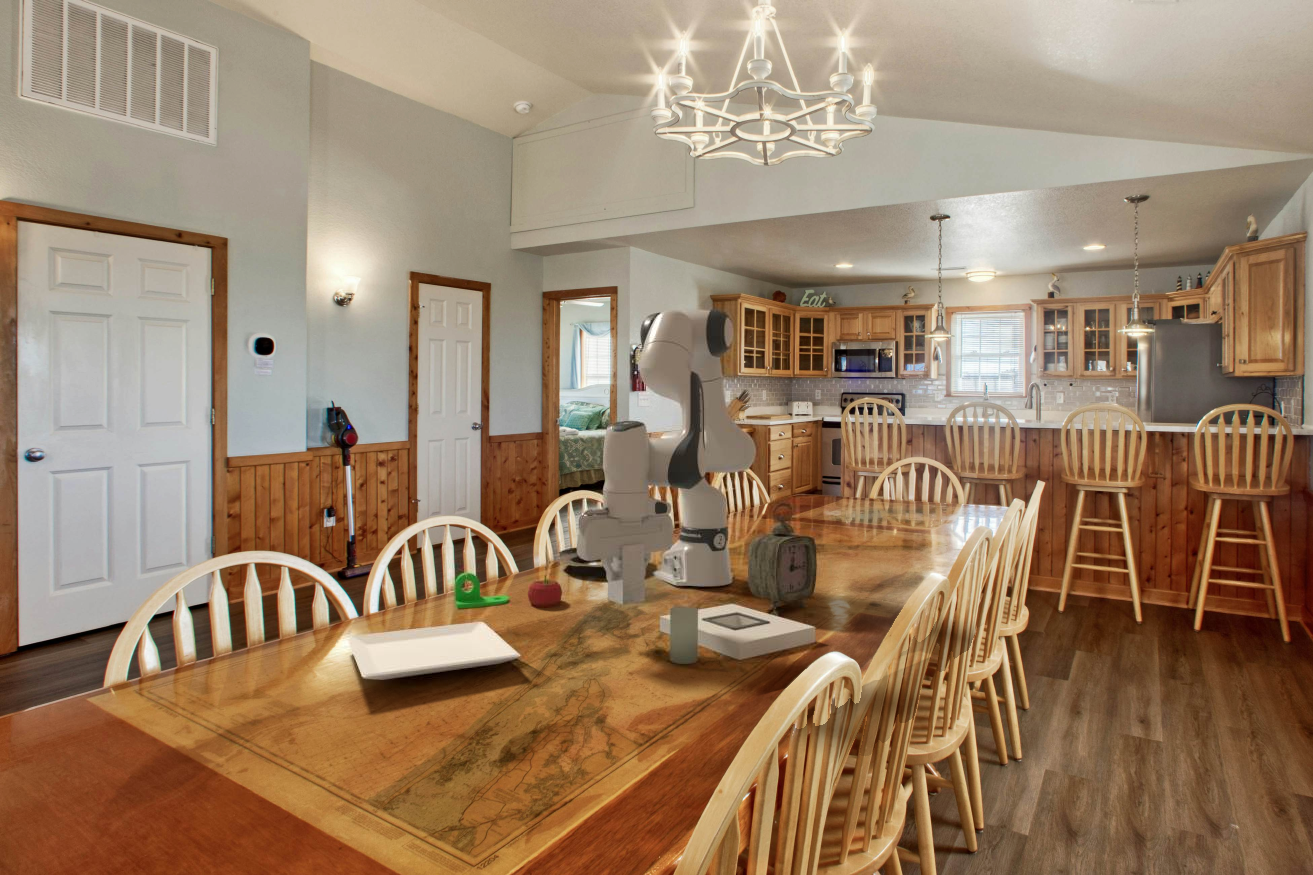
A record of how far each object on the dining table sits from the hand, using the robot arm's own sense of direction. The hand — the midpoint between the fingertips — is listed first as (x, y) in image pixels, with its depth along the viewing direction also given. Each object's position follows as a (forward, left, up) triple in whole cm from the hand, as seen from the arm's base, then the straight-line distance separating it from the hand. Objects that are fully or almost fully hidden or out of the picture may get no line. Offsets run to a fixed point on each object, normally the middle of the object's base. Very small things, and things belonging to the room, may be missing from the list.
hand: (626, 578), depth 144 cm
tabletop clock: (-2, +44, -13) cm, 46 cm away
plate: (-16, -32, -13) cm, 38 cm away
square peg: (0, 0, -4) cm, 4 cm away
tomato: (-36, +2, -13) cm, 38 cm away
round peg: (+13, +4, -13) cm, 19 cm away
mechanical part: (-45, -10, -13) cm, 48 cm away
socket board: (+7, +22, -13) cm, 26 cm away
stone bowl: (-54, +29, -13) cm, 63 cm away
